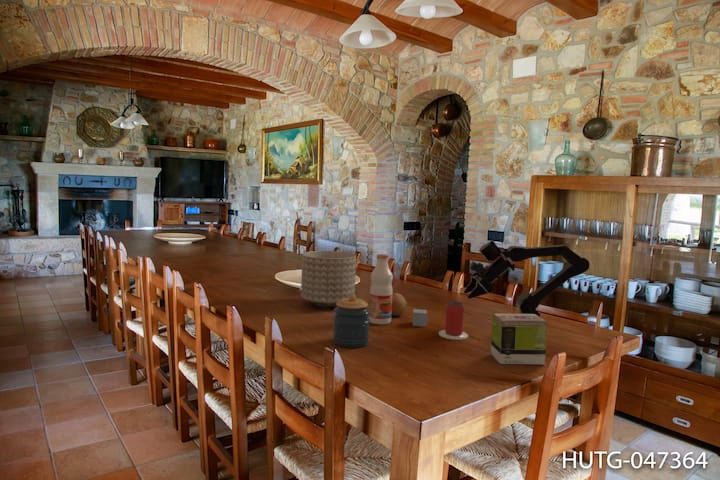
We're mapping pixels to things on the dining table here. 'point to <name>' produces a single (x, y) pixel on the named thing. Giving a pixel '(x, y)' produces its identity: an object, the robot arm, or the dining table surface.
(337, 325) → the canister
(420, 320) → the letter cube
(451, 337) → the coaster
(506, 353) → the tea box
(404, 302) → the onion
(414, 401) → the dining table surface
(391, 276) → the fruit juice
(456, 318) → the beer can
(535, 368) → the dining table surface
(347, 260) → the planter
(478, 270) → the robot arm
